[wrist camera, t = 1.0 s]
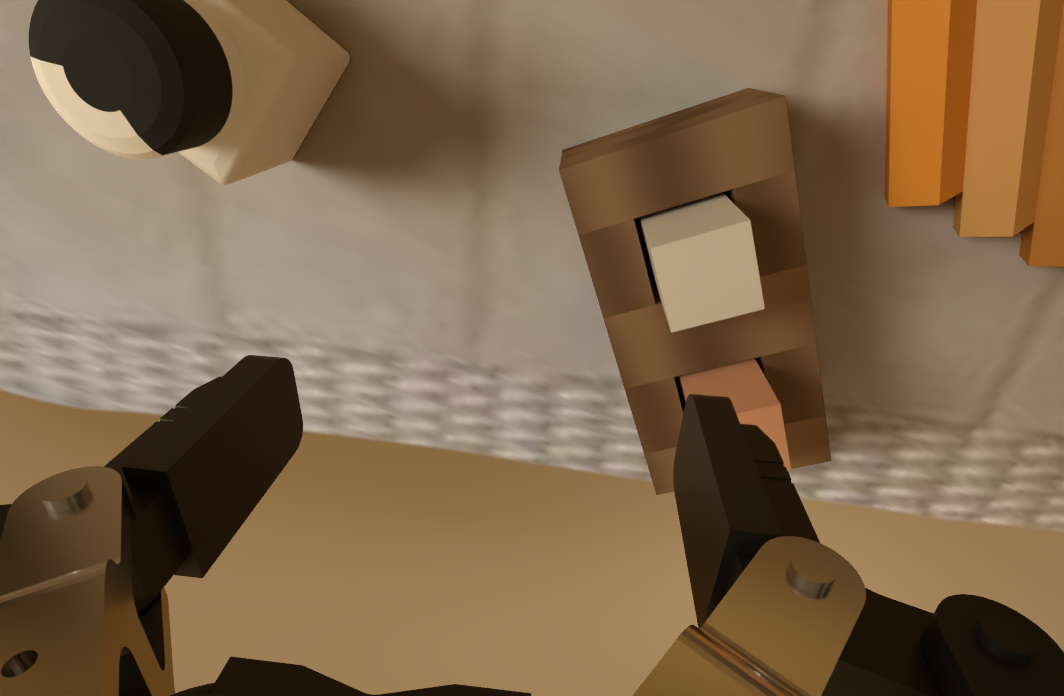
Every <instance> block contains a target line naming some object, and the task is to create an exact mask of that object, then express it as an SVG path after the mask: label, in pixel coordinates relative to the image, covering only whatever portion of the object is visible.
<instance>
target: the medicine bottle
mask: <svg viewBox="0 0 1064 696" xmlns="http://www.w3.org/2000/svg"><path fill="white" fill-rule="evenodd" d="M29 49H30V57H31V61H32V65H33V68H34V71H35V74H36V77H37V79H38V81H39V84H40V86H41V88H42V90H43V92H44V93H45V95H46V97H47V98H48V100H49V101H50V103H51V104H52V106H53V107H54V108H55V110H56V111H57V112H58V113H59V115H60V116H61V117H62V118H63V119H64V120H65V121H66V122H67V123H68V124H69V125H70V126H71V127H72V128H73V129H74V130H75V131H77V132H78V133H79V134H80V135H81V136H83V137H84V138H85V139H87V140H88V141H89V142H91V143H92V144H94V145H96V146H97V147H99V148H101V149H103V150H105V151H107V152H110V153H112V154H115V155H118V156H121V157H126V158H131V159H150V158H156V157H160V156H164V155H168V154H172V153H176V152H178V153H180V154H181V155H182V156H184V157H185V158H186V159H188V160H189V161H191V162H192V163H193V164H195V165H196V166H197V167H199V168H200V169H201V170H203V171H204V172H206V173H207V174H208V175H210V176H211V177H212V178H214V179H215V180H216V181H218V182H219V183H221V184H230V183H233V182H236V181H238V180H241V179H244V178H246V177H249V176H252V175H254V174H257V173H260V172H262V171H265V170H268V169H270V168H273V167H276V166H278V165H281V164H284V163H287V162H289V161H291V160H292V159H293V157H294V156H295V154H296V152H297V151H298V149H299V147H300V145H301V144H302V142H303V140H304V139H305V137H306V135H307V133H308V132H309V130H310V128H311V127H312V125H313V123H314V121H315V120H316V118H317V116H318V115H319V113H320V111H321V109H322V108H323V106H324V104H325V103H326V101H327V99H328V98H329V96H330V94H331V92H332V91H333V89H334V87H335V86H336V84H337V82H338V80H339V79H340V77H341V75H342V74H343V72H344V70H345V68H346V67H347V65H348V63H349V61H350V55H349V54H348V52H347V51H346V50H344V49H343V48H342V47H341V46H340V45H339V44H337V43H336V42H335V41H334V40H333V39H331V38H330V37H329V36H328V35H327V34H326V33H324V32H323V31H322V30H321V29H320V28H318V27H317V26H316V25H315V24H314V23H312V22H311V21H310V20H309V19H308V18H307V17H305V16H304V15H303V14H302V13H301V12H299V11H298V10H297V9H296V8H295V7H294V6H292V5H291V4H290V3H289V2H288V1H286V0H38V2H37V4H36V6H35V8H34V11H33V14H32V17H31V22H30V28H29Z"/></svg>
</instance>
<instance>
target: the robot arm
mask: <svg viewBox="0 0 1064 696" xmlns="http://www.w3.org/2000/svg"><path fill="white" fill-rule="evenodd" d="M302 432H303V420H302V414H301V409H300V403H299V398H298V393H297V387H296V382H295V376H294V371H293V367H292V364H291V363H290V361H289V360H288V359H286V358H278V357H266V356H255V355H248V356H246V357H244V358H243V359H242V360H241V361H239V362H238V363H237V364H236V365H235V366H234V367H233V368H232V369H230V370H229V371H228V372H227V373H226V374H225V375H224V376H223V377H218V378H216V379H214V380H212V381H210V382H208V383H206V384H204V385H202V386H200V387H198V388H196V389H194V390H193V391H191V392H190V393H189V394H188V395H187V396H186V397H184V398H183V399H182V400H181V401H180V402H179V403H178V404H176V407H175V409H173V408H172V409H171V410H169V411H168V412H167V413H166V414H165V415H164V416H162V417H161V419H160V422H155V423H154V424H153V425H152V426H151V427H150V428H148V429H147V430H146V431H145V432H144V433H143V434H141V435H140V436H139V437H138V438H137V439H136V440H134V441H133V442H132V443H131V444H130V445H129V446H127V447H126V448H125V449H124V450H123V451H122V452H121V453H119V454H118V455H117V456H116V457H115V458H113V459H112V460H111V461H110V462H109V463H108V464H107V465H105V466H104V467H101V466H89V467H81V468H76V469H72V470H68V471H65V472H62V473H59V474H56V475H53V476H51V477H49V478H46V479H44V480H42V481H40V482H39V483H37V484H35V485H33V486H32V487H30V488H29V489H27V490H26V491H25V492H23V493H22V494H21V495H20V496H19V497H18V498H17V499H16V500H15V501H14V502H13V504H7V505H0V696H531V693H523V692H515V691H506V690H498V689H490V688H482V687H474V686H466V685H458V684H453V685H446V686H439V687H432V688H424V689H417V690H410V691H402V692H395V693H388V694H381V695H371V694H366V693H363V692H361V691H359V690H356V689H354V688H352V687H350V686H348V685H345V684H343V683H341V682H339V681H336V680H334V679H332V678H330V677H327V676H325V675H323V674H321V673H318V672H316V671H314V670H312V669H309V668H307V667H305V666H302V665H294V664H286V663H278V662H270V661H262V660H254V659H245V658H238V657H230V658H229V660H228V662H227V663H226V665H225V667H224V669H223V670H222V672H221V673H220V675H219V677H218V679H217V680H216V682H215V683H211V684H206V685H202V686H198V687H194V688H190V689H187V690H184V691H181V692H178V693H175V688H174V677H173V663H172V648H171V634H170V620H169V605H168V597H167V593H166V591H165V588H164V586H165V585H166V584H167V582H168V581H169V580H170V579H171V577H172V576H173V575H179V576H188V577H197V578H203V577H204V575H205V574H206V573H207V572H208V570H209V569H210V567H211V566H212V565H213V563H214V562H215V561H216V559H217V558H218V557H219V555H220V554H221V553H222V551H223V550H224V549H225V547H226V546H227V544H228V543H229V542H230V540H231V539H232V537H233V536H234V535H235V534H236V532H237V530H239V528H240V527H241V525H242V524H243V523H244V521H245V520H246V519H247V517H248V516H249V515H250V513H251V512H252V511H253V509H254V508H255V506H256V505H257V504H258V502H259V501H260V500H261V498H262V497H263V496H264V494H265V493H266V492H267V490H268V489H269V487H270V486H271V485H272V483H273V482H274V481H275V479H276V478H277V476H278V475H279V474H280V472H281V471H282V470H283V468H284V467H285V466H286V464H287V463H288V462H289V460H290V459H291V457H292V456H293V455H294V453H295V452H296V450H297V449H298V447H299V444H300V441H301V438H302ZM673 485H674V492H675V498H676V503H677V509H678V515H679V520H680V526H681V532H682V537H683V542H684V549H685V554H686V559H687V566H688V571H689V577H690V583H691V588H692V593H693V600H694V605H695V611H696V616H697V622H698V628H699V629H698V628H697V627H695V626H694V625H690V626H689V627H687V628H686V629H685V630H684V631H683V632H682V633H681V634H680V635H679V637H678V638H677V639H676V640H675V642H674V643H673V644H672V646H671V647H670V648H669V650H668V651H667V652H666V654H665V655H664V656H663V658H662V659H661V660H660V661H659V662H658V664H657V665H656V666H655V668H654V669H653V670H652V671H651V673H650V674H649V675H648V677H647V678H646V679H645V680H644V682H643V683H642V684H641V686H640V687H639V688H638V689H637V691H636V692H635V693H634V695H633V696H1064V652H1063V651H1062V650H1061V648H1060V647H1059V646H1058V645H1057V643H1055V641H1054V640H1053V639H1052V638H1051V637H1050V636H1049V635H1048V634H1047V633H1046V632H1045V631H1043V630H1042V629H1041V628H1040V627H1039V626H1038V625H1036V624H1035V623H1033V622H1032V621H1031V620H1029V619H1028V618H1026V617H1025V616H1023V615H1022V614H1020V613H1018V612H1017V611H1015V610H1013V609H1011V608H1009V607H1007V606H1005V605H1003V604H1001V603H998V602H996V601H993V600H990V599H987V598H984V597H980V596H975V595H966V594H961V595H953V596H949V597H947V598H945V599H944V600H942V601H941V603H940V604H939V605H938V607H937V609H936V611H935V612H934V614H933V613H930V612H927V611H925V610H922V609H919V608H916V607H913V606H910V605H907V604H905V603H902V602H899V601H896V600H893V599H890V598H887V597H885V596H882V595H879V594H877V593H875V592H872V591H871V590H869V589H867V588H865V586H864V583H863V581H862V579H861V577H860V576H859V574H858V573H857V571H856V570H855V569H854V568H853V566H852V565H851V564H850V563H849V562H848V561H847V560H845V558H843V557H842V556H841V555H839V554H838V553H836V552H835V551H834V550H832V549H830V548H828V547H827V546H825V545H822V544H820V542H819V539H818V537H817V535H816V533H815V531H814V528H813V526H812V524H811V522H810V520H809V518H808V515H807V513H806V511H805V509H804V506H803V504H802V502H801V500H800V497H799V495H798V493H797V491H796V488H795V486H794V484H793V483H791V477H790V475H789V473H788V471H787V469H786V467H784V462H783V460H782V457H781V455H780V453H779V451H778V449H777V446H776V444H775V443H774V442H773V441H772V440H771V439H770V438H769V437H768V436H767V435H766V434H765V433H764V432H763V431H762V430H761V429H760V428H759V427H758V426H757V425H749V424H740V422H739V420H738V417H737V414H736V412H735V409H734V407H733V404H732V401H731V399H730V398H729V397H723V396H711V395H700V394H689V395H688V397H687V400H686V403H685V408H684V413H683V418H682V423H681V428H680V433H679V438H678V443H677V448H676V453H675V458H674V467H673Z"/></svg>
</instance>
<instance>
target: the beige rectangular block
mask: <svg viewBox="0 0 1064 696" xmlns="http://www.w3.org/2000/svg"><path fill="white" fill-rule="evenodd" d="M639 218H640V222H641V226H642V230H643V234H644V238H645V242H646V246H647V250H648V254H649V258H650V262H651V266H652V270H653V274H654V278H655V282H656V286H657V290H658V293H659V296H660V299H661V302H662V305H663V309H664V312H665V315H666V318H667V321H668V324H669V327H670V330H671V333H672V332H676V331H680V330H684V329H688V328H692V327H696V326H699V325H703V324H707V323H711V322H715V321H719V320H723V319H727V318H731V317H735V316H739V315H743V314H747V313H751V312H755V311H759V310H763V309H765V307H764V301H763V295H762V289H761V283H760V276H759V270H758V264H757V258H756V252H755V246H754V240H753V234H752V228H751V222H750V219H749V218H748V217H747V216H746V215H745V214H744V213H743V212H742V211H741V210H740V209H739V208H738V207H737V206H736V205H735V204H734V203H733V202H732V201H731V200H730V199H729V198H728V197H727V196H726V195H725V194H724V193H723V192H721V193H718V194H715V195H711V196H708V197H705V198H701V199H698V200H695V201H691V202H688V203H684V204H681V205H678V206H674V207H671V208H668V209H664V210H661V211H658V212H654V213H651V214H648V215H644V216H641V217H639Z"/></svg>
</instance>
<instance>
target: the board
mask: <svg viewBox="0 0 1064 696" xmlns="http://www.w3.org/2000/svg"><path fill="white" fill-rule="evenodd" d="M559 171H560V175H561V178H562V181H563V185H564V188H565V191H566V195H567V198H568V201H569V205H570V208H571V211H572V215H573V218H574V221H575V225H576V228H577V231H578V235H579V238H580V241H581V245H582V248H583V251H584V255H585V258H586V261H587V265H588V268H589V271H590V275H591V278H592V281H593V285H594V288H595V291H596V295H597V298H598V301H599V305H600V308H601V311H602V315H603V318H604V321H605V325H606V328H607V331H608V335H609V338H610V341H611V345H612V348H613V351H614V355H615V358H616V361H617V365H618V368H619V371H620V375H621V378H622V381H623V385H624V388H625V391H626V395H627V398H628V401H629V405H630V408H631V411H632V414H633V418H634V421H635V424H636V428H637V431H638V434H639V438H640V441H641V444H642V448H643V451H644V454H645V458H646V461H647V464H648V468H649V471H650V474H651V478H652V481H653V484H654V488H655V491H656V494H657V495H658V494H663V493H668V492H674V485H673V467H674V458H675V453H676V448H677V443H678V438H679V433H680V428H681V423H682V418H683V413H684V408H685V399H684V395H683V391H682V387H681V383H680V379H679V376H681V375H685V374H689V373H693V372H698V371H702V370H706V369H710V368H715V367H719V366H723V365H727V364H732V363H736V362H740V361H744V360H748V359H753V358H755V360H756V362H757V363H758V365H759V367H760V369H761V371H762V372H763V374H764V376H765V378H766V379H767V381H768V383H769V385H770V387H771V388H772V390H773V392H774V394H775V395H776V397H777V399H778V401H779V402H780V404H781V410H782V416H783V422H784V429H785V435H786V441H787V447H788V453H789V459H790V465H791V469H792V468H797V467H803V466H808V465H813V464H818V463H823V462H828V461H831V456H830V448H829V440H828V432H827V424H826V416H825V408H824V400H823V392H822V384H821V376H820V368H819V360H818V352H817V344H816V336H815V328H814V320H813V312H812V304H811V296H810V288H809V280H808V272H807V264H806V256H805V248H804V240H803V232H802V224H801V216H800V208H799V200H798V192H797V184H796V176H795V168H794V160H793V152H792V144H791V136H790V128H789V120H788V112H787V104H786V96H783V95H779V94H774V93H769V92H765V91H760V90H755V89H751V88H747V89H744V90H741V91H738V92H735V93H732V94H729V95H726V96H723V97H720V98H717V99H714V100H711V101H708V102H705V103H702V104H699V105H696V106H693V107H690V108H687V109H684V110H681V111H678V112H675V113H672V114H669V115H666V116H663V117H660V118H657V119H654V120H651V121H648V122H645V123H642V124H639V125H636V126H633V127H630V128H627V129H624V130H621V131H618V132H615V133H612V134H609V135H606V136H603V137H600V138H598V139H595V140H592V141H589V142H586V143H583V144H580V145H577V146H574V147H571V148H568V149H565V150H563V152H562V157H561V163H560V168H559ZM721 192H723V193H724V194H725V195H726V196H727V197H728V198H729V199H730V200H731V201H732V202H733V203H734V204H735V205H736V206H737V207H738V208H739V209H740V210H741V211H742V212H743V213H744V214H745V215H746V216H747V217H748V218H749V219H750V222H751V228H752V234H753V240H754V246H755V252H756V258H757V264H758V270H759V276H760V283H761V289H762V295H763V301H764V307H765V309H763V310H759V311H755V312H751V313H747V314H743V315H739V316H735V317H731V318H727V319H723V320H719V321H715V322H711V323H707V324H703V325H699V326H696V327H692V328H688V329H684V330H680V331H676V332H672V333H671V330H670V327H669V324H668V321H667V318H666V315H665V312H664V309H663V305H662V302H661V299H660V296H659V293H658V290H657V286H656V282H655V278H654V274H653V270H652V266H651V262H650V258H649V254H648V250H647V246H646V242H645V238H644V234H643V230H642V226H641V222H640V218H639V217H641V216H644V215H648V214H651V213H654V212H658V211H661V210H664V209H668V208H671V207H674V206H678V205H681V204H684V203H688V202H691V201H695V200H698V199H701V198H705V197H708V196H711V195H715V194H718V193H721Z"/></svg>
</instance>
